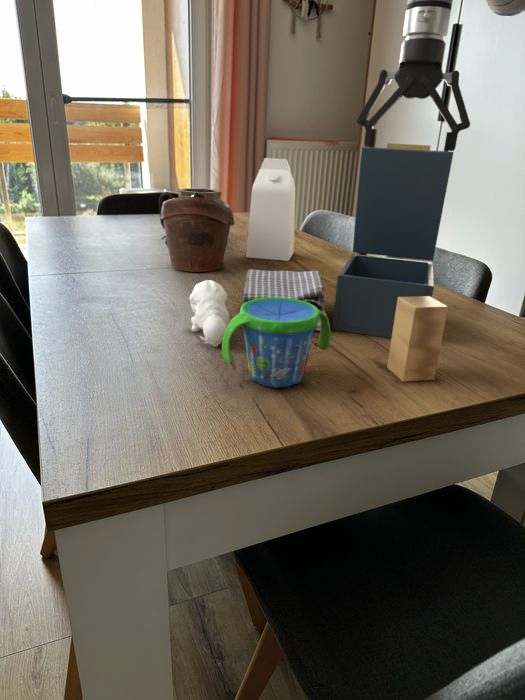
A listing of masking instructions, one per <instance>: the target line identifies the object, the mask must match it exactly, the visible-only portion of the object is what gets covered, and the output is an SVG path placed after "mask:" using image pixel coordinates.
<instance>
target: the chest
mask: <svg viewBox="0 0 525 700" xmlns="http://www.w3.org/2000/svg"><path fill="white" fill-rule="evenodd" d="M434 279H435V278H434V264H433V262H432V261H426V260H417V259H407V258H398V257H388V256H379V255H369V254H360V253H352V254H351V255H350V257H349V258H348V260H347V261H346V263H345V264H344V266H343V267H342V269H341V270H340V271H339V273H338V275H337V279H336V289H335V298H334V307H333V317H332V325H331V326H332V327H331V330H333V331H340V332H347V333H353V334H361V335H368V336H375V337H381V338H382V337H383V338H389V339H392V332H393V326H394V319H395V313H396V306H397V300H398V297H418V296H430V297H431V298H433V293H434V289H435V281H434Z"/></svg>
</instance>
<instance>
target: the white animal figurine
mask: <svg viewBox="0 0 525 700" xmlns="http://www.w3.org/2000/svg"><path fill="white" fill-rule="evenodd" d="M224 289H225V288H224V287H223V286H222V285H221V284H219V283H218V282H216V281H214V280H209V279H206V280H203V281H201V282H199V283H197V284H195V285H194V288H193V290H192V291H191V293H190V295H189V302H190V308H191V311H192V312H193V314H194V315H193V316H191V319H190V322H191V324H192V326H191V331H192V332H194V333H195V332H199V331H200V330H202V332H203V336H202V335H199V337H200V339H201V340H203V342H205V344H210V345H211V346H213V347H214V348H217V347H218V346H219V345H221V344H222V341H223V336H224V333H225V330H226V328H227V326H228V324H229V323H230V313H229V310H227V306H226V301H227V300H228V294H227V293H226V291H225V290H224Z"/></svg>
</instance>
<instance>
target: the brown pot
mask: <svg viewBox="0 0 525 700" xmlns="http://www.w3.org/2000/svg"><path fill="white" fill-rule="evenodd" d="M159 219H160V220H162V219H164V220H163V224H164V227H165V229H164V233H165V235H164V236H163V237H162V238H161V239H160V240H161V241H162V240H164V239H165V241H164V242H165V245H166V246H167V250H168V254H169V259H170V264H171V266H172V268H174V269H175V270H179V271H183V272H195V273H199V272H200V273H203V272H204V273H205V272H213V271H217V270H219V269H221V268H223V266H224V258H225V253H226V250H227V249H226V248H227V244H228V240H229V235H230V229H231V227H232V226H235V219H234V212H233V210H232V209H231V206H230V205H229V204H228V203H227V202H226V201H224V200H222V199H221V198H220V199H218V198H215V197H211V196H207V195H201V194H199V193H196V194H194V195H192V196H184V197H179V196H178V197H175V198H173V199H171V198H170V199H167V200H165V201H162V209H161V216H160V215H159Z"/></svg>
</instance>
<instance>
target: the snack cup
mask: <svg viewBox="0 0 525 700" xmlns="http://www.w3.org/2000/svg"><path fill="white" fill-rule="evenodd" d="M319 316H320V317H321V325H320V331H319V336H318V341H317V344H318V347H319V349H321V350H323V351H326V350H328V349H329V347H330V345H331V339H332V338H331V336H332V335H331V333H332V332H331V324H330V320H329V317H328V315H327V316H326V315H325V314H324V313H323V312H321V311H320V310H318V308H317V307H315V306H314V305H312V304H310V303H308V302H304V301H301V300H296V299H290V298H277V297H275V298H274V297H273V298H260V299H255V300H251V301H248V302H246V303H244V304H243V305H242V304H241V306H240V310H239V313H238V314H236V315H235V316H234V317H233V318H231V320H229V323H228V324H227V328H226V330H225V333H224V336H223V341H222V343H221V352H222V356H223V358H224V360H225V362H226V363H227V364H228V365H232V364H233V360H232V352H231V351H232V350H231V339H232V336H233V334H234V333H235V332H236V331H237V330H238V329H239V327H240V326H242V329H243V333H244V342H245V349H246V358H247V367H248V372H249V376H250V378H251V380H252V381H253V382H256V383H258V384H260V385H263V386H265V387H271V388H275V389H278V388H287V387H290V386H293V385H297V384H300V383H301V381H302V379H303V378H304V376H305V372H306V369H307V364H308V360H309V355H310V352H311V347H312V343H313V339H314V332H315V330H314V329H315V327H316V326H317V324H318V322H319Z"/></svg>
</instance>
